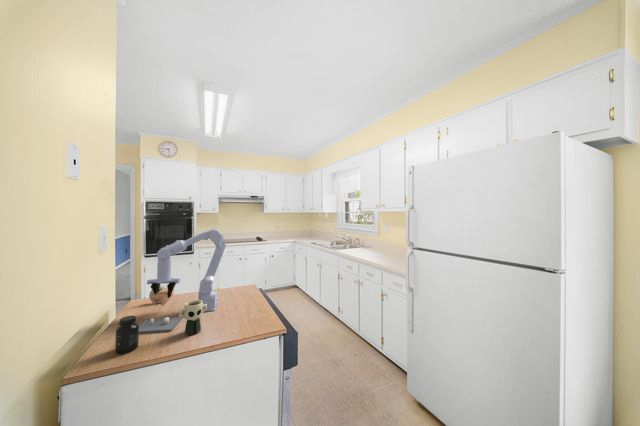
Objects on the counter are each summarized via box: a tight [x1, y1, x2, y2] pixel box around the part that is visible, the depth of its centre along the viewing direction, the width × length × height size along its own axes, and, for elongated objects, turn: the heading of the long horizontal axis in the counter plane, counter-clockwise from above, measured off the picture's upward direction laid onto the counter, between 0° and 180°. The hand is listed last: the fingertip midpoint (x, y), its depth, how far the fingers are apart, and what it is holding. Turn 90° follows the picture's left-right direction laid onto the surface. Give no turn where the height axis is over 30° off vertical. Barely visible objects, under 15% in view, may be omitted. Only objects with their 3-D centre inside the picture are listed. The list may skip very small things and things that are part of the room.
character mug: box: [178, 299, 207, 335], centre depth 102 cm, size 11×7×13 cm, turn 132°
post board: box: [139, 316, 183, 335], centre depth 106 cm, size 15×12×4 cm
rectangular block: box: [151, 288, 175, 307], centre depth 118 cm, size 12×5×4 cm, turn 11°
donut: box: [149, 285, 168, 304], centre depth 133 cm, size 10×4×10 cm, turn 119°
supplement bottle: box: [114, 315, 140, 355], centre depth 88 cm, size 7×7×12 cm
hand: (163, 297), depth 118 cm, fingers closed on rectangular block, 5 cm apart
